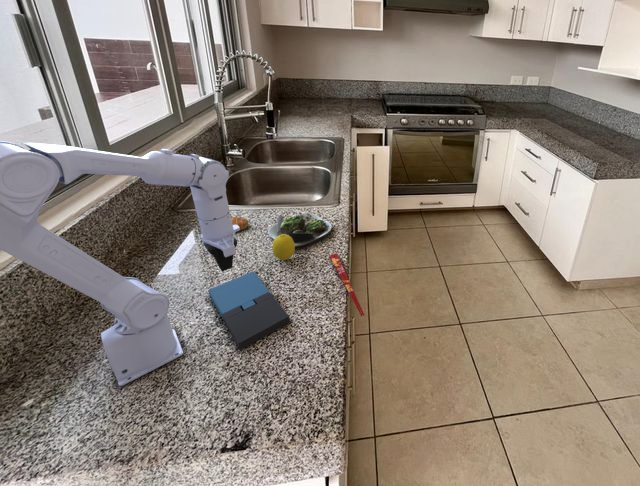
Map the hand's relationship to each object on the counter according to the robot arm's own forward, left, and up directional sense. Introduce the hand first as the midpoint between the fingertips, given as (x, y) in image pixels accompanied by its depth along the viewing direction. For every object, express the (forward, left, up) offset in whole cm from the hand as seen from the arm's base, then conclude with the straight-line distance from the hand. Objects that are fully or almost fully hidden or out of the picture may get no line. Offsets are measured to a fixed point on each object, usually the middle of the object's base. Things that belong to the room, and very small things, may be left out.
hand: (226, 268), depth 75 cm
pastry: (+9, +33, -9) cm, 35 cm away
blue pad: (+1, 0, -9) cm, 9 cm away
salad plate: (+24, +15, -9) cm, 30 cm away
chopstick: (+22, -13, -9) cm, 27 cm away
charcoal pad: (+1, -10, -9) cm, 14 cm away
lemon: (+15, +6, -9) cm, 19 cm away
